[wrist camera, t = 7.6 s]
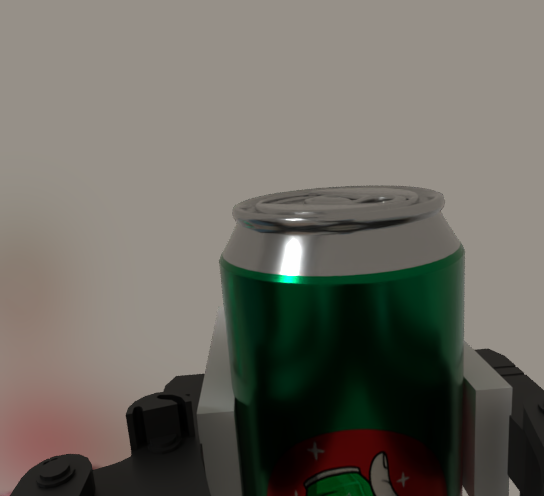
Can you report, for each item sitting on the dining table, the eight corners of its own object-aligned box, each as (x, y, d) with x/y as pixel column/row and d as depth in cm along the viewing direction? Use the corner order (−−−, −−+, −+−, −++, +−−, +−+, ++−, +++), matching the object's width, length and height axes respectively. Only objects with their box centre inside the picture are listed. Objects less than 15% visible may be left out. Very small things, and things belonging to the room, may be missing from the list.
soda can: (327, 546, 17) (305, 183, 14) (487, 631, 13) (498, 182, 11) (219, 678, 13) (161, 213, 10) (407, 840, 10) (393, 226, 7)
